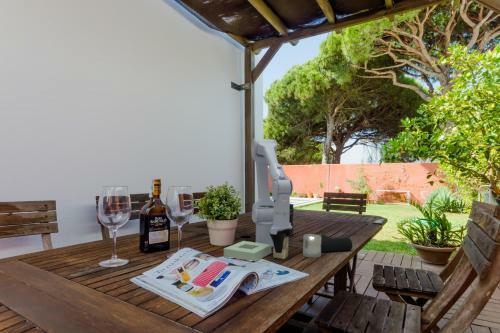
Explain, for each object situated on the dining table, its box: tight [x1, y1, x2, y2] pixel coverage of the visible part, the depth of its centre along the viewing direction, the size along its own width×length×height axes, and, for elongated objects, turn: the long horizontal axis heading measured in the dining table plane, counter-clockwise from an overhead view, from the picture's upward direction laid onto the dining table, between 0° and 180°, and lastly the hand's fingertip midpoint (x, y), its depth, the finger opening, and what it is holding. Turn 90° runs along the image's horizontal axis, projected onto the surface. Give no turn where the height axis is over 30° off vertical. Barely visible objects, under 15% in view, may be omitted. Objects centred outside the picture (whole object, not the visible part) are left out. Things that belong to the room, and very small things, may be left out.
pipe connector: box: [319, 233, 353, 253], centre depth 120 cm, size 12×5×15 cm
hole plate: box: [223, 240, 272, 261], centre depth 109 cm, size 14×12×3 cm
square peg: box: [272, 236, 289, 260], centre depth 107 cm, size 4×4×7 cm
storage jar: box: [289, 203, 295, 238], centre depth 144 cm, size 10×10×15 cm
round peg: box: [302, 233, 322, 259], centre depth 110 cm, size 6×6×7 cm
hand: (280, 251), depth 107 cm, fingers closed on square peg, 4 cm apart
